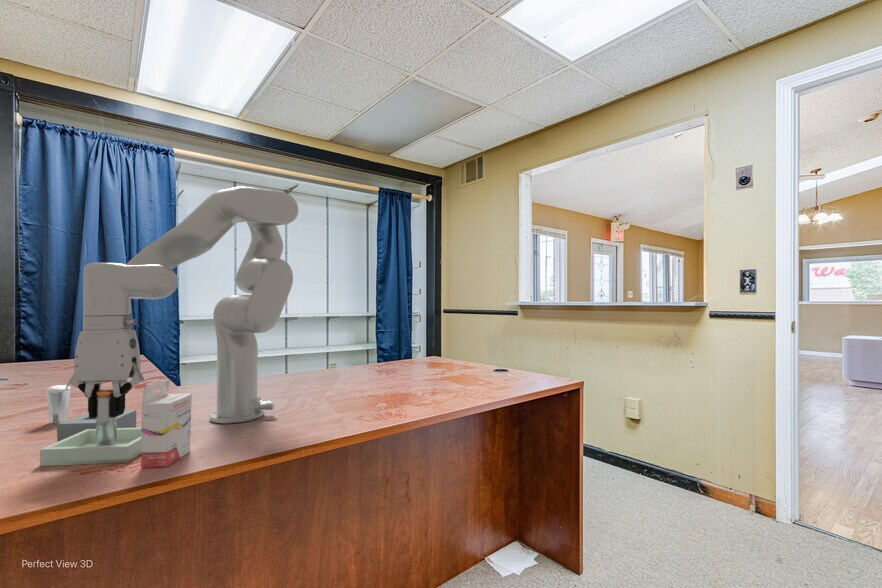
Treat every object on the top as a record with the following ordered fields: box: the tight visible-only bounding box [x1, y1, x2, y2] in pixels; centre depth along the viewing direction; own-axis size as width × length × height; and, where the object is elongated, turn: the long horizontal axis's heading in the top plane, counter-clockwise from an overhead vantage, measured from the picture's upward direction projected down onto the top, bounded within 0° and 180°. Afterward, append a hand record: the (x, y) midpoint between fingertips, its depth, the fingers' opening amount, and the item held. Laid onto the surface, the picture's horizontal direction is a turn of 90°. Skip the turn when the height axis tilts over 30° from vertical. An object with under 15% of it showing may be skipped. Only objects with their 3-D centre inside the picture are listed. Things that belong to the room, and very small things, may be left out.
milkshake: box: [45, 381, 72, 425], centre depth 104 cm, size 5×5×10 cm
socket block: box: [56, 409, 137, 442], centre depth 95 cm, size 10×10×4 cm
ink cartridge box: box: [140, 379, 193, 468], centre depth 81 cm, size 9×5×15 cm, turn 5°
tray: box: [39, 426, 142, 467], centre depth 84 cm, size 15×12×3 cm
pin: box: [96, 387, 117, 446], centre depth 84 cm, size 3×3×11 cm
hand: (106, 415), depth 84 cm, fingers closed on pin, 3 cm apart
